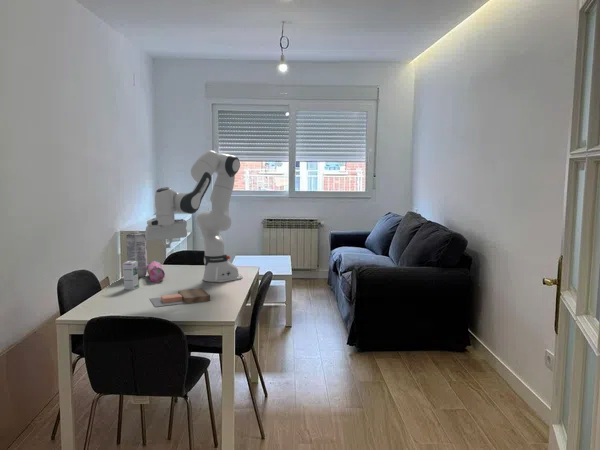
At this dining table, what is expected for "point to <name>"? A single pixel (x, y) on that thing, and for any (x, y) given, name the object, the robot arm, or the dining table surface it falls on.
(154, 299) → the mat
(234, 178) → the robot arm
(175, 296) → the salmon pink rectangular block
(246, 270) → the dining table surface
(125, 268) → the syrup box
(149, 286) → the dining table surface
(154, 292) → the dining table surface
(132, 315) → the dining table surface
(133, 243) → the juice carton
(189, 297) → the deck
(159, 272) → the pencil case
